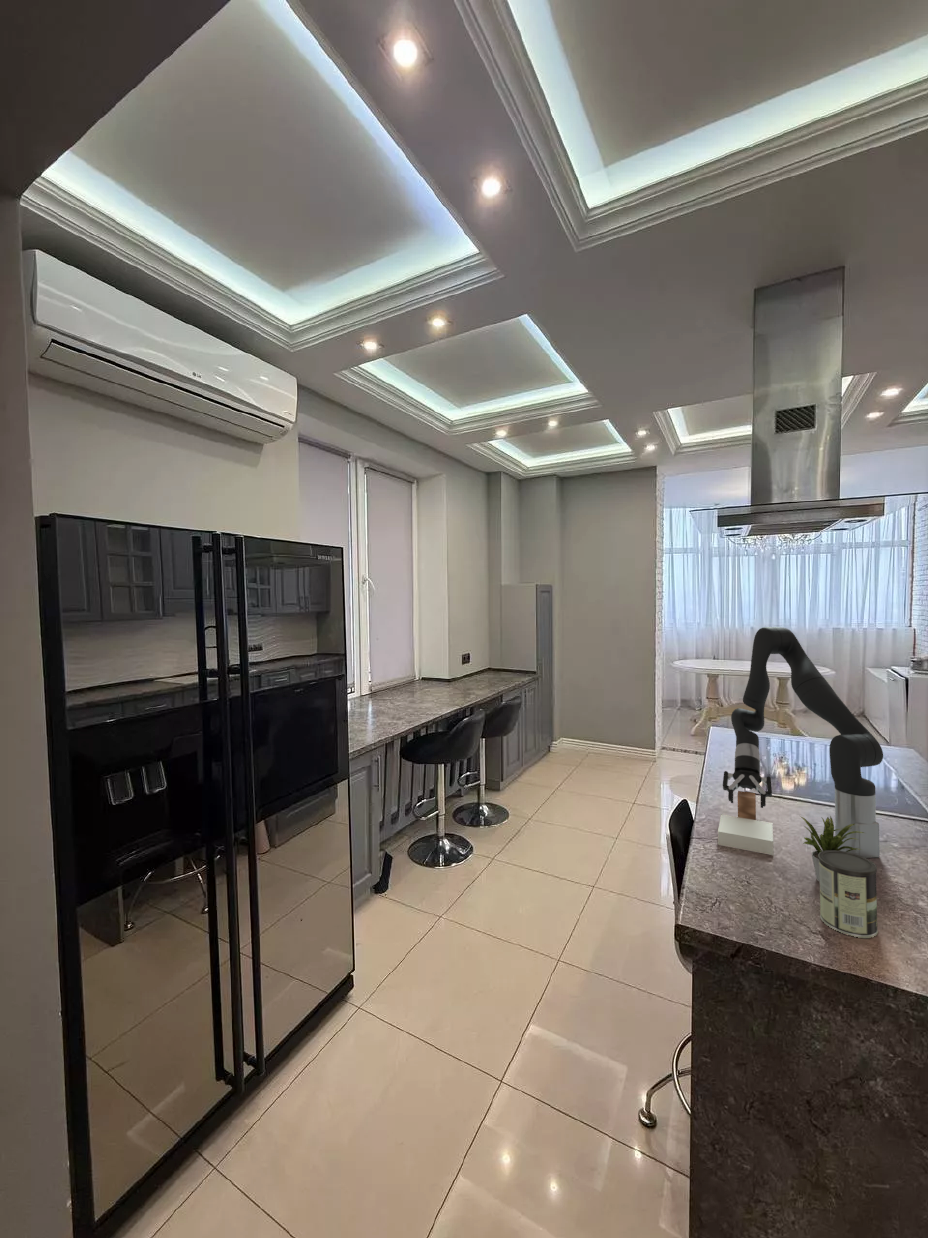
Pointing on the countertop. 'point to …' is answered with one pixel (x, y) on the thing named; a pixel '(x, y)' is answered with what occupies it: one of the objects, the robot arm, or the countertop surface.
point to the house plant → (827, 840)
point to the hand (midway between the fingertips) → (746, 804)
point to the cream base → (746, 834)
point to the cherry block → (747, 805)
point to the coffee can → (848, 893)
